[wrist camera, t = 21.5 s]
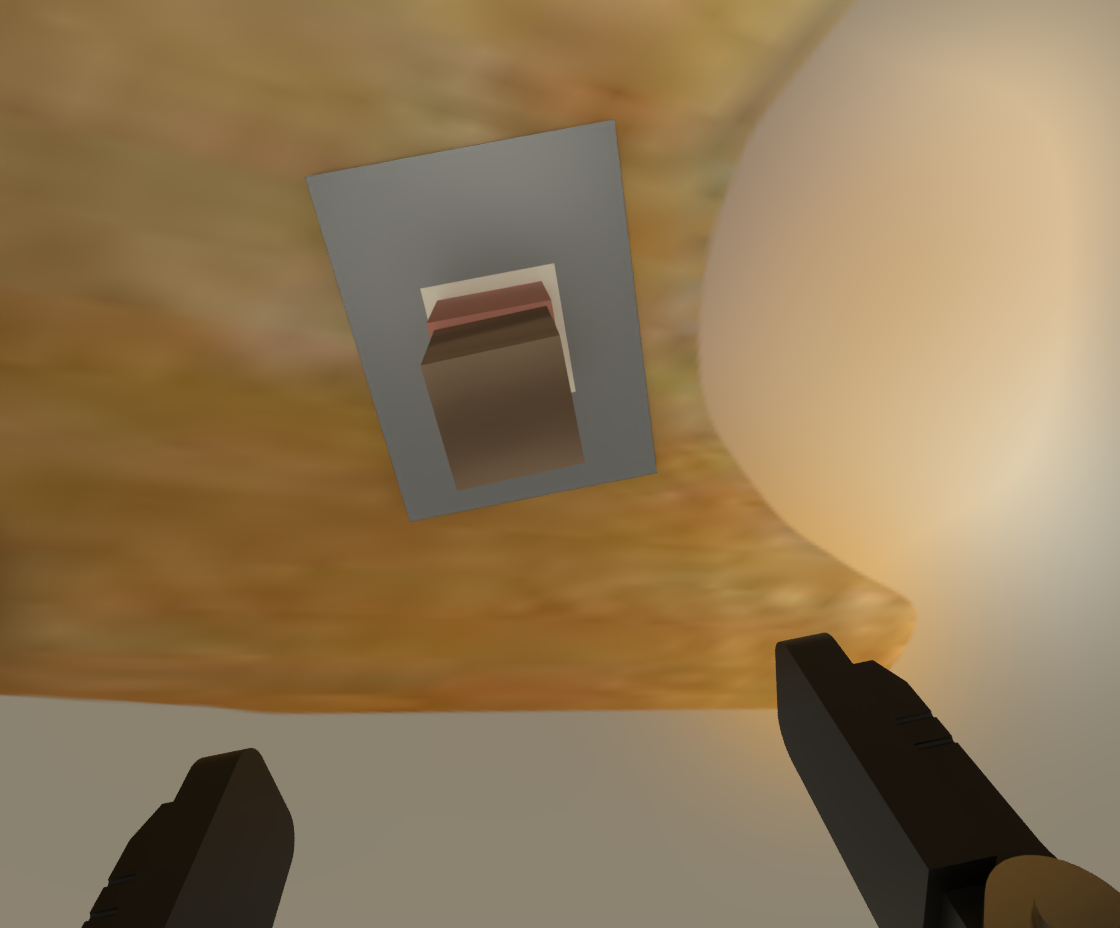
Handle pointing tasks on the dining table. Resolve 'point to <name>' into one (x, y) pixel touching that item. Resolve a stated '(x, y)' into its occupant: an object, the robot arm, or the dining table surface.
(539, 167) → the grey flat rectangular panel
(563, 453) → the walnut block
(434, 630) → the dining table surface
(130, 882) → the robot arm
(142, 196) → the dining table surface
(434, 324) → the red block
